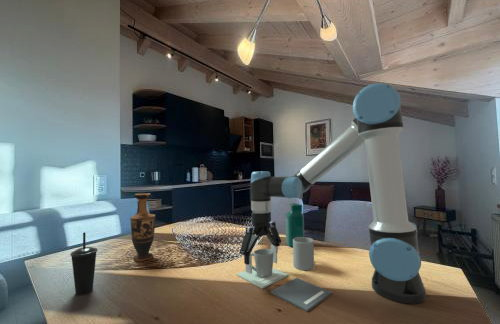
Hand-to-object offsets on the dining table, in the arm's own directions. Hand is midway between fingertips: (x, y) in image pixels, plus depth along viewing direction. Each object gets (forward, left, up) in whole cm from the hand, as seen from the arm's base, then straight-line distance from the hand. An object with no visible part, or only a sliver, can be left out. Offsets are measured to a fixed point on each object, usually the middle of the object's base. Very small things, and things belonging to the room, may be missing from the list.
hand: (262, 267), depth 92 cm
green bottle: (+13, -38, -3) cm, 40 cm away
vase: (+51, +27, -3) cm, 58 cm away
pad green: (0, 0, -3) cm, 3 cm away
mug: (-5, -20, -3) cm, 21 cm away
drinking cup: (+34, +52, -3) cm, 62 cm away
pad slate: (-18, 0, -3) cm, 18 cm away
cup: (0, 0, -3) cm, 3 cm away
